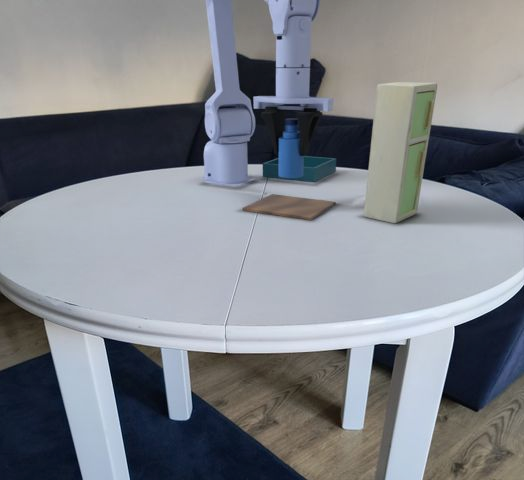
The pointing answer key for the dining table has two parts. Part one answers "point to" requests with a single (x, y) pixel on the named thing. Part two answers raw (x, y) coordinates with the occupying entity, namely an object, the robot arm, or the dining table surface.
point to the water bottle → (290, 151)
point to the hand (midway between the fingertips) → (291, 154)
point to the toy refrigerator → (398, 149)
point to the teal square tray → (304, 169)
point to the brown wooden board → (290, 206)
